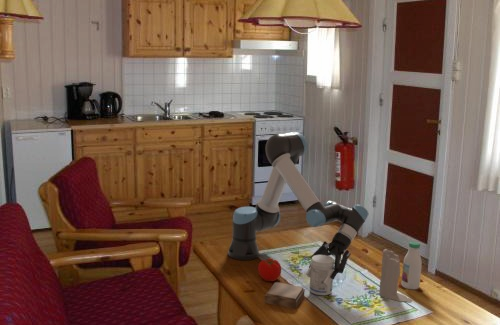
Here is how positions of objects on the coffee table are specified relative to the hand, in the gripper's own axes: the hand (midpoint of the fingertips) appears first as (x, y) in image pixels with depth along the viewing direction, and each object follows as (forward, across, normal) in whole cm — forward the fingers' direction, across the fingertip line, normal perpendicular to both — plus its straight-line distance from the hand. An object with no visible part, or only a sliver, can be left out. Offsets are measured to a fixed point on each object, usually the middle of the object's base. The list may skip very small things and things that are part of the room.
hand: (316, 279), depth 224 cm
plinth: (+14, +4, +6) cm, 16 cm away
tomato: (+9, +23, -1) cm, 24 cm away
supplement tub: (+2, 0, -6) cm, 7 cm away
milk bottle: (-24, -19, -33) cm, 45 cm away
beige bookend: (-14, -22, -23) cm, 34 cm away
